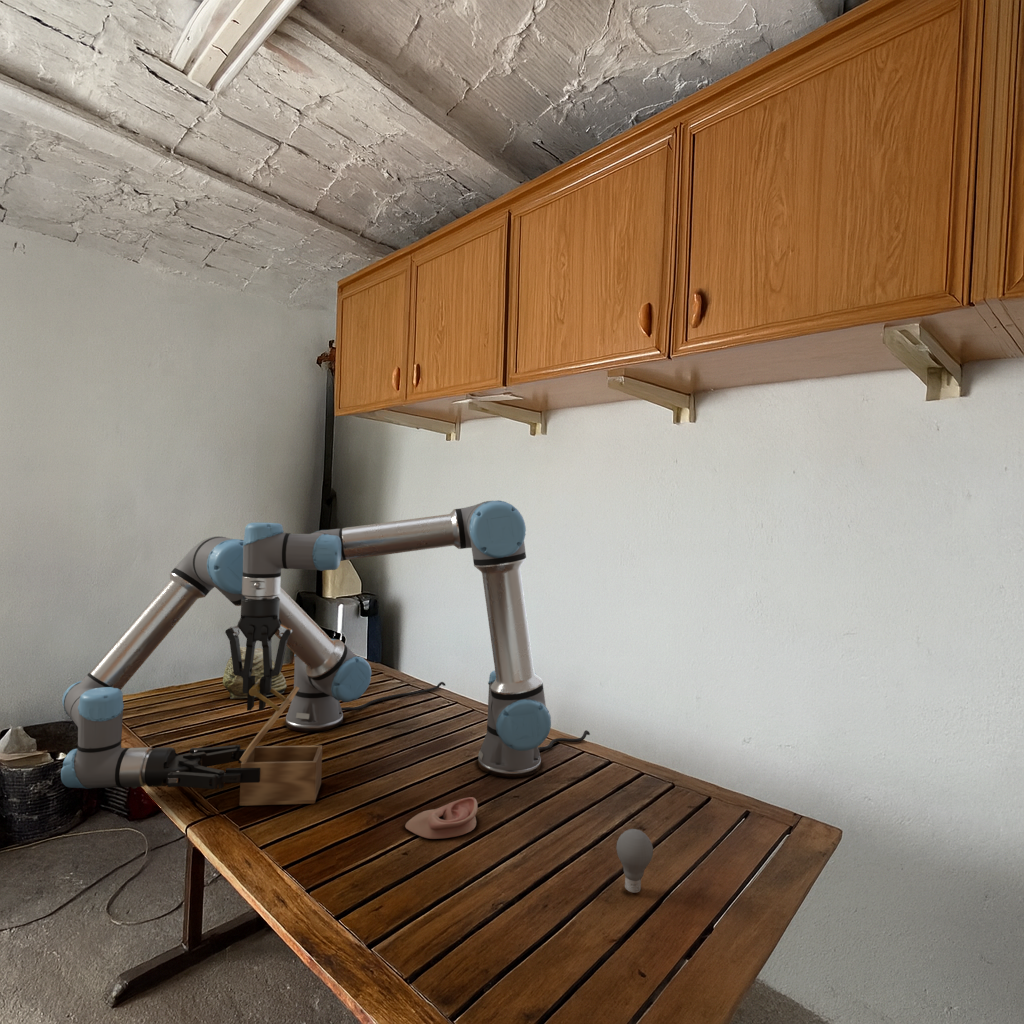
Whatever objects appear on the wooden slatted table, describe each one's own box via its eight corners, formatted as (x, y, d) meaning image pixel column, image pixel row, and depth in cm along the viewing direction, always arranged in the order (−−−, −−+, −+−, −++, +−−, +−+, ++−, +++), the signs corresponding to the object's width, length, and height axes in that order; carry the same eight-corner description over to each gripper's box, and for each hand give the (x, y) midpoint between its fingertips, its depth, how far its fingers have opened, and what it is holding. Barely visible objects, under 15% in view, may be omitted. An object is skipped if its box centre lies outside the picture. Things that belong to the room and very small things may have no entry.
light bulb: (610, 879, 108) (613, 822, 108) (644, 879, 109) (647, 822, 109) (619, 902, 102) (622, 840, 102) (655, 901, 103) (658, 840, 103)
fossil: (218, 695, 195) (220, 647, 195) (278, 685, 208) (279, 640, 207) (228, 703, 189) (230, 653, 188) (289, 692, 201) (290, 645, 201)
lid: (299, 688, 138) (269, 666, 137) (291, 701, 130) (258, 678, 128) (253, 745, 137) (222, 723, 136) (242, 762, 128) (209, 739, 127)
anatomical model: (399, 813, 120) (420, 787, 131) (398, 834, 120) (419, 806, 131) (467, 823, 117) (482, 796, 128) (466, 845, 117) (481, 815, 128)
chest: (321, 784, 140) (322, 745, 139) (314, 803, 131) (316, 762, 131) (250, 785, 137) (252, 746, 137) (239, 805, 128) (240, 763, 128)
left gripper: (170, 763, 141) (275, 761, 144) (125, 811, 119) (251, 807, 123) (171, 729, 141) (277, 728, 144) (127, 771, 119) (252, 769, 123)
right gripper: (218, 598, 128) (213, 714, 128) (294, 600, 130) (289, 714, 130) (229, 592, 135) (224, 702, 135) (300, 594, 137) (296, 702, 138)
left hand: (265, 765), depth 133 cm, fingers closed on chest, 9 cm apart
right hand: (256, 708), depth 133 cm, fingers closed on lid, 2 cm apart
